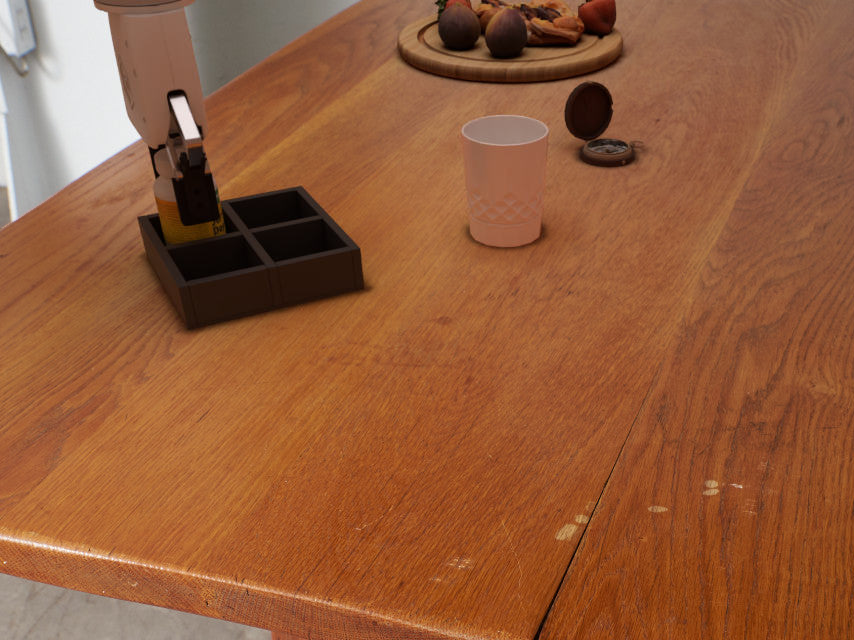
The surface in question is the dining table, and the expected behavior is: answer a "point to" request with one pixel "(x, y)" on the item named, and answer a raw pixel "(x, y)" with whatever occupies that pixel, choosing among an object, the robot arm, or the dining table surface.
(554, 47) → the wooden plate
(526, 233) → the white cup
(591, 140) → the compass
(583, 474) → the dining table surface
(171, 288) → the holder
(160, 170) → the supplement bottle
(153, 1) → the robot arm
